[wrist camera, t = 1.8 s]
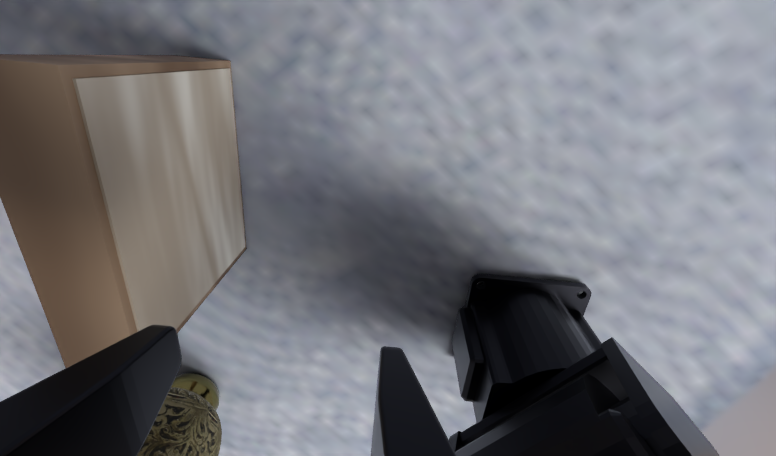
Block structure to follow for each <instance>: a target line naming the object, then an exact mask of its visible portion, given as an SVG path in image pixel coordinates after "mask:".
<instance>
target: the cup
mask: <svg viewBox="0 0 776 456" xmlns="http://www.w3.org/2000/svg"><path fill="white" fill-rule="evenodd" d="M218 405H219V391H218V389H217V387H216V385H215V384H214V383H213V382H212V381H211V380H209V379H208V378H206V377H204V376H202V375H199V374H194V373H184V374H180V375H178V376H176V377H175V380H174V382H173V384H172V386H171V388H170V390H169V392H168V394H167V396H166V398H165V400H164V403H163V405H162V407H161V409H160V411H159V413H158V415H157V417H156V419H155V421H154V423H153V426H152V428H151V430H150V432H149V434H148V436H147V438H146V440H145V442H144V444H143V446H142V447H141V449H140V451H139V453H138V454H137V456H218V454H219V450H220V445H221V435H222V431H221V423H220V419H219V417H218V414H217V412H216V410H217V408H218Z"/></svg>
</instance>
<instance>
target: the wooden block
mask: <svg viewBox="0 0 776 456" xmlns="http://www.w3.org/2000/svg"><path fill="white" fill-rule="evenodd" d="M0 197H1V200H2V203H3V205H4V208H5V210H6V213H7V216H8V218H9V221H10V223H11V226H12V229H13V231H14V234H15V237H16V239H17V242H18V244H19V247H20V250H21V252H22V255H23V257H24V260H25V263H26V265H27V268H28V270H29V273H30V276H31V278H32V281H33V283H34V286H35V289H36V291H37V294H38V297H39V299H40V302H41V304H42V307H43V310H44V312H45V315H46V317H47V320H48V323H49V325H50V328H51V330H52V333H53V336H54V338H55V341H56V343H57V346H58V349H59V351H60V354H61V357H62V359H63V362H64V364H65V367H66V368H68V367H70V366H71V365H73V364H75V363H77V362H79V361H81V360H83V359H85V358H87V357H89V356H91V355H93V354H95V353H97V352H99V351H101V350H103V349H105V348H107V347H109V346H111V345H113V344H114V343H116V342H118V341H120V340H122V339H124V338H126V337H128V336H130V335H132V334H134V333H136V332H138V331H140V330H142V329H144V328H146V327H148V326H150V325H166V326H172V327H174V328H175V329H176V331H177V333H178V332H179V331H180V329H181V328H182V327H183V326H184V324H185V323H186V322H187V321H188V320H189V318H190V317H191V316H192V315H193V313H194V312H195V311H196V310H197V309H198V307H199V306H200V305H201V304H202V303H203V301H204V300H205V299H206V298H207V296H208V295H209V294H210V293H211V292H212V290H213V289H214V288H215V287H216V285H217V284H218V283H219V282H220V281H221V279H222V278H223V277H224V276H225V274H226V273H227V272H228V271H229V270H230V268H231V267H232V266H233V265H234V263H235V262H236V261H237V260H238V259H239V257H240V256H241V255H242V254H243V252H244V251H245V250H246V237H245V226H244V214H243V203H242V191H241V180H240V168H239V156H238V145H237V133H236V122H235V110H234V99H233V87H232V75H231V64H230V61H228V60H217V59H207V58H197V57H186V56H176V55H3V54H0Z"/></svg>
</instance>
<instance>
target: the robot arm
mask: <svg viewBox="0 0 776 456" xmlns="http://www.w3.org/2000/svg"><path fill="white" fill-rule="evenodd" d="M478 282H484V283H483V284H482V285H477V283H478ZM581 291H583V292H582V293H581V294H579V295H577V294H578V293H579V292H581ZM590 297H591V291H590V289H589V288H588V287H587V286H586V285H585V284H582V283H573V282H562V281H552V280H542V279H531V278H521V277H510V276H500V275H490V274H477V275H474V276H473V277H472V279H471V281H470V286H469V290H468V295H467V300H466V304H465V307H462V308H460V309H459V311H458V316H457V320H456V325H455V330H454V335H453V340H452V346H453V352H454V358H455V364H456V370H457V376H458V382H459V388H460V394H461V397H462V398H463V399H464V400H465V401H471V402H473V407H474V412H475V417H476V422H477V423H476V424H474V425H473V426H471V427H470V428H468V429H466V430H465V431H463V432H460V431H458V432H457V433H455V434H454V435H452V436H450V438H449V440H448V438H447V436H446V434H445V432H444V430H443V428H442V426H441V424H440V422H439V421H438V419H437V417H436V415H435V413H434V411H433V409H432V407H431V405H430V403H429V401H428V399H427V397H426V395H425V393H424V391H423V389H422V387H421V385H420V383H419V381H418V379H417V377H416V375H415V373H414V371H413V370H412V368H411V366H410V364H409V362H408V360H407V358H406V356H405V354H404V352H403V350H402V349H401V348H396V347H386V346H384V347H382V348H381V351H380V361H379V370H378V380H377V391H376V402H375V414H374V425H373V437H372V448H371V456H719V454H718V453H717V451H716V450H715V449H714V447H713V446H712V444H711V443H710V442H709V441H708V440H707V438H706V437H705V436H704V435H703V434H702V432H701V431H700V430H699V429H698V427H697V426H696V425H695V424H694V423H693V421H692V420H691V419H690V418H689V417H688V415H687V414H686V413H685V412H684V411H683V409H682V408H681V407H680V406H679V404H678V403H677V402H676V401H675V400H674V399H673V397H672V396H671V395H670V394H669V393H668V392H667V391H666V390H665V389H664V388H663V387H662V386H661V385H660V384H659V383H658V382H657V381H656V380H655V379H654V378H653V377H652V376H651V375H650V374H649V373H648V372H647V371H646V370H645V369H644V368H643V367H642V366H641V365H640V364H639V363H638V362H637V361H636V360H635V359H634V358H633V357H632V356H631V355H630V354H629V353H628V352H627V351H626V350H625V349H624V348H623V347H622V346H621V345H620V344H619V343H618V342H617V341H616V340H615V339H614V338H610V339H608V340H607V341H605V342H604V343H601V342H600V340H599V339H598V337H597V336H596V335H595V333H594V332H593V330H592V329H591V327H590V326H589V324H588V323H587V321H586V320H585V319H584V317H583V315H584V312H585V310H586V307H587V305H588V302H589V300H590ZM181 361H182V356H181V351H180V346H179V341H178V336H177V331H176V329H175V328H174V327H172V326H166V325H150V326H148V327H146V328H144V329H142V330H140V331H138V332H136V333H134V334H132V335H130V336H128V337H126V338H124V339H122V340H120V341H118V342H116V343H114V344H113V345H111V346H109V347H107V348H105V349H103V350H101V351H99V352H97V353H95V354H93V355H91V356H89V357H87V358H85V359H83V360H81V361H79V362H77V363H75V364H73V365H71V366H70V367H68V368H66V369H64V370H62V371H60V372H58V373H56V374H54V375H52V376H50V377H48V378H46V379H44V380H42V381H40V382H38V383H36V384H34V385H32V386H30V387H28V388H27V389H25V390H23V391H21V392H19V393H17V394H15V395H13V396H11V397H9V398H7V399H5V400H3V401H1V402H0V456H137V454H138V453H139V451H140V449H141V447H142V446H143V444H144V442H145V440H146V438H147V436H148V434H149V432H150V430H151V428H152V426H153V423H154V421H155V419H156V417H157V415H158V413H159V411H160V409H161V407H162V405H163V403H164V400H165V398H166V396H167V394H168V392H169V390H170V388H171V386H172V384H173V382H174V380H175V377H176V375H177V373H178V371H179V369H180V366H181Z"/></svg>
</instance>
